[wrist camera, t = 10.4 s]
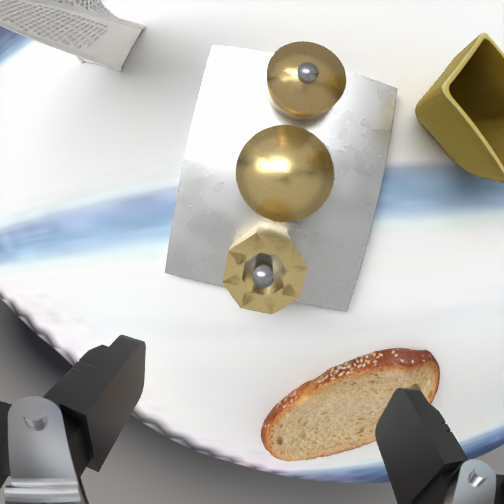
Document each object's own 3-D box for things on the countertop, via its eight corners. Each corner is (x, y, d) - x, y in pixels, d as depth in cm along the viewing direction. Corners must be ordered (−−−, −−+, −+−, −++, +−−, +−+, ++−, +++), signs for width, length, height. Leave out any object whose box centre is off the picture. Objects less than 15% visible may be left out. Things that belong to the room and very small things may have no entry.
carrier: (392, 92, 22) (419, 73, 17) (343, 306, 27) (359, 334, 21) (214, 50, 22) (202, 21, 17) (169, 269, 27) (146, 289, 21)
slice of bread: (251, 445, 32) (250, 467, 28) (306, 320, 28) (311, 340, 24) (378, 459, 32) (384, 478, 28) (448, 353, 28) (464, 369, 24)
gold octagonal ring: (306, 236, 24) (313, 244, 21) (290, 300, 26) (293, 318, 22) (237, 221, 24) (232, 227, 21) (224, 287, 26) (218, 303, 22)
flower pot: (435, 61, 21) (485, 29, 13) (489, 126, 22) (547, 117, 13) (389, 114, 23) (440, 88, 14) (450, 184, 24) (512, 188, 15)
